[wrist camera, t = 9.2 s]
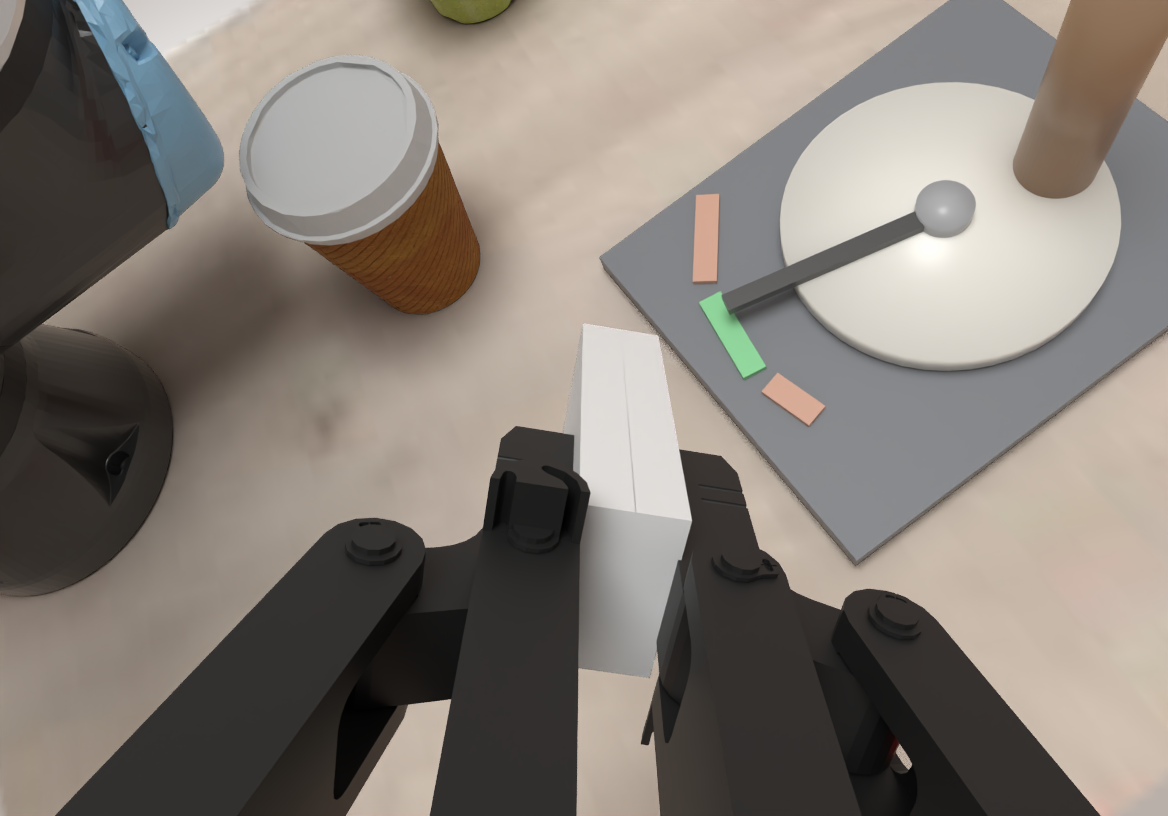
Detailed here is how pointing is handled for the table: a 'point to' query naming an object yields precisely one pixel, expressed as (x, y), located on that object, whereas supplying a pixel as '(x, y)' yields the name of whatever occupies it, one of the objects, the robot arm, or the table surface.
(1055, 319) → the post on round base
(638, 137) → the table surface
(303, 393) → the table surface
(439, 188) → the disposable coffee cup
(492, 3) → the plant pot
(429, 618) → the robot arm
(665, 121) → the table surface
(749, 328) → the dial plate
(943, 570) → the table surface
